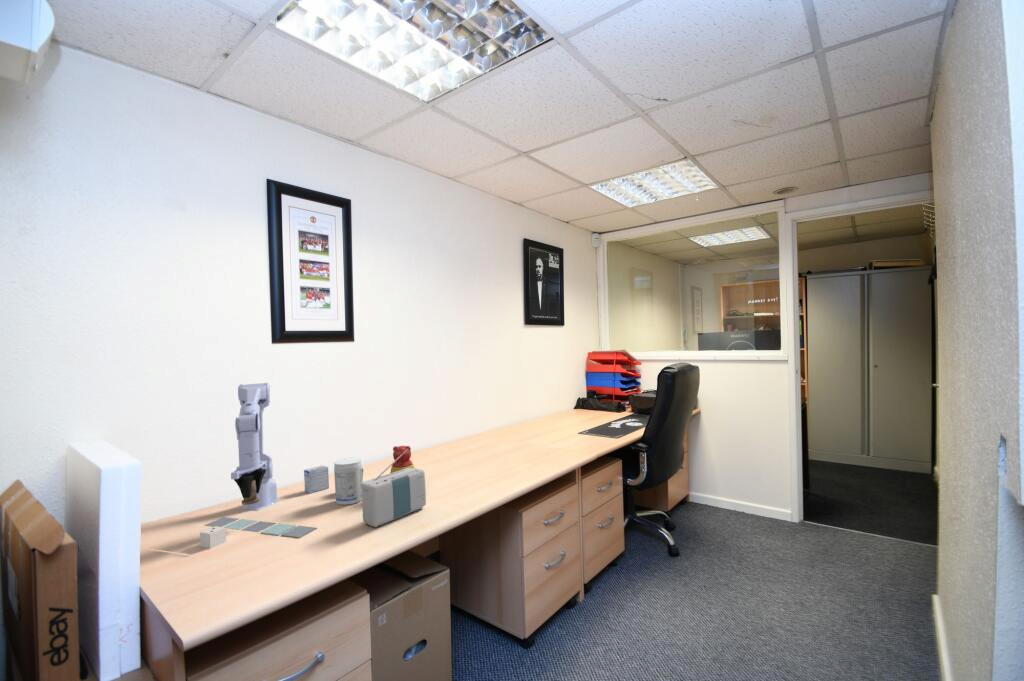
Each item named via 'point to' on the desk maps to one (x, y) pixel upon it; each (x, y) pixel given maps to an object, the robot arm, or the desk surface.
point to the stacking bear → (401, 458)
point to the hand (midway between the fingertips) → (251, 495)
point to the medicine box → (316, 479)
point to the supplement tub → (348, 480)
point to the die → (212, 537)
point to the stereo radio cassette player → (393, 495)
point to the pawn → (251, 495)
